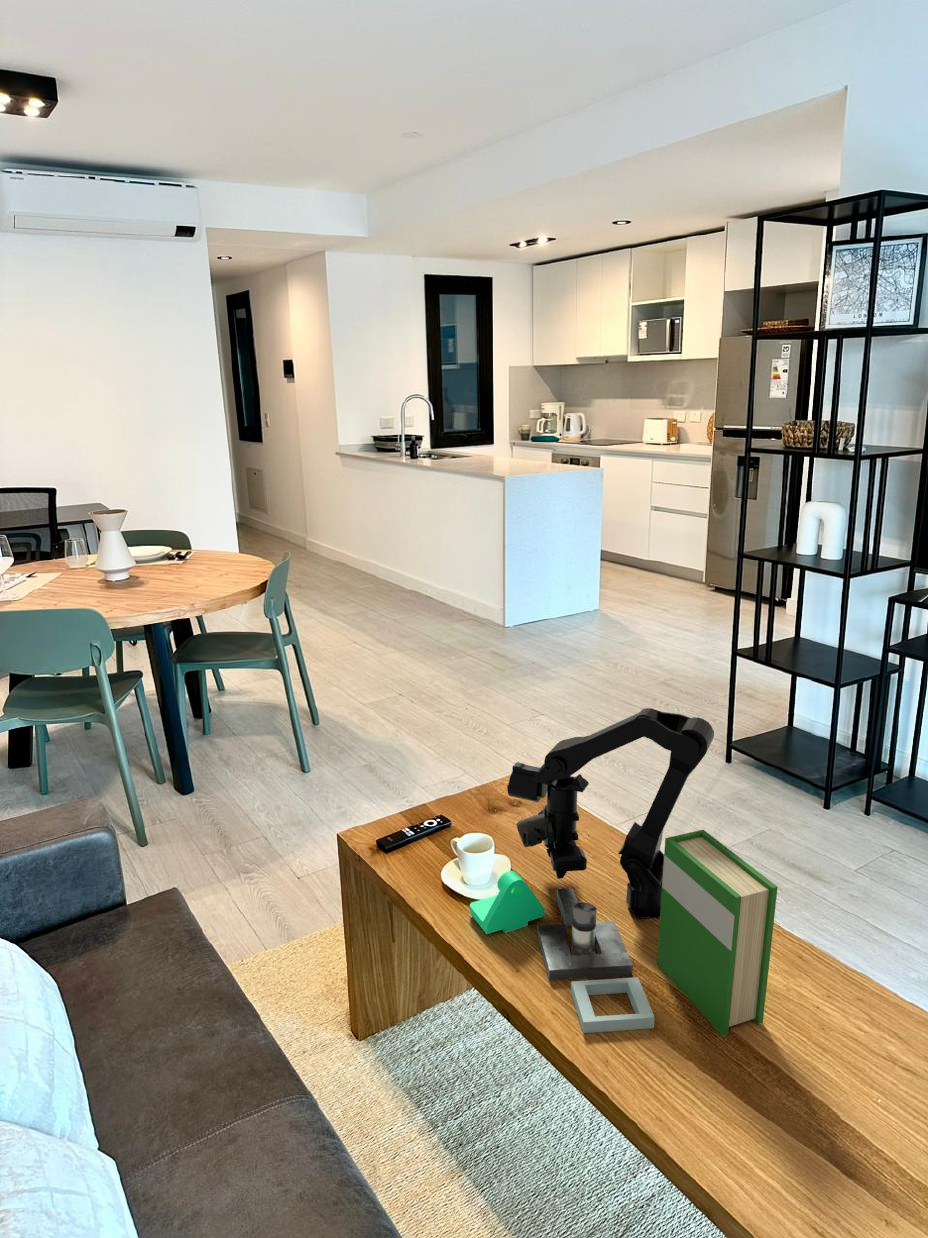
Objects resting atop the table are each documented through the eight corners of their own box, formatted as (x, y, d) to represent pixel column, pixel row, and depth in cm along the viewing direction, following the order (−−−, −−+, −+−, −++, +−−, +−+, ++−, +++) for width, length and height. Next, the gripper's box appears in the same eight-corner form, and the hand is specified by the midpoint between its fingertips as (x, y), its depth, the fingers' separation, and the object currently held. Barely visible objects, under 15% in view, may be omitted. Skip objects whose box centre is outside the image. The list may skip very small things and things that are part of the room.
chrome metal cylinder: (591, 946, 147) (593, 901, 145) (597, 961, 144) (599, 915, 141) (569, 947, 147) (570, 903, 145) (573, 962, 143) (575, 917, 141)
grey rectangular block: (572, 899, 161) (572, 888, 160) (581, 925, 153) (581, 913, 152) (556, 900, 161) (557, 888, 160) (565, 926, 153) (565, 914, 152)
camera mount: (524, 899, 161) (525, 851, 159) (544, 921, 155) (546, 872, 152) (468, 916, 156) (467, 867, 154) (486, 939, 150) (486, 889, 147)
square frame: (637, 987, 137) (637, 977, 137) (653, 1028, 129) (654, 1017, 128) (570, 992, 136) (571, 981, 136) (583, 1033, 128) (583, 1022, 127)
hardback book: (762, 1023, 130) (777, 886, 123) (723, 1036, 127) (736, 897, 121) (693, 953, 145) (703, 829, 139) (656, 964, 143) (665, 838, 136)
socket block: (613, 930, 152) (614, 920, 151) (632, 975, 140) (632, 965, 140) (537, 934, 151) (537, 925, 150) (549, 980, 139) (549, 970, 138)
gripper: (513, 785, 169) (512, 854, 173) (527, 833, 151) (526, 908, 155) (567, 783, 170) (565, 851, 174) (588, 830, 152) (585, 905, 156)
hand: (559, 877), depth 165 cm, fingers closed
